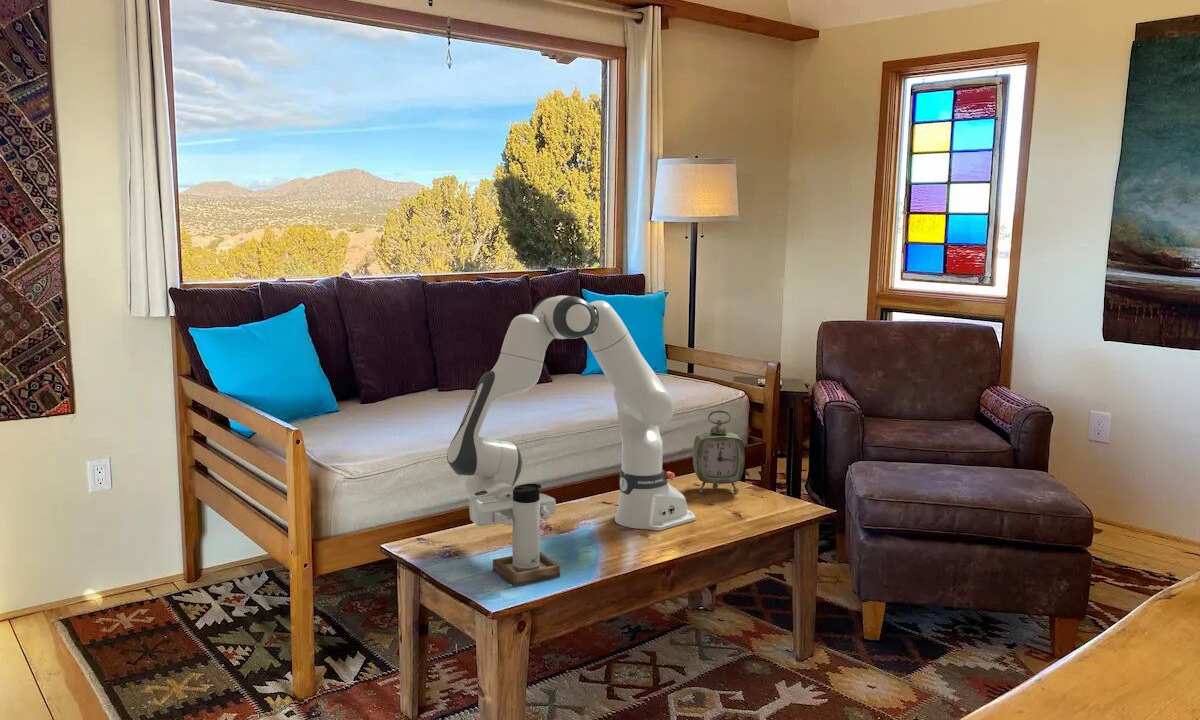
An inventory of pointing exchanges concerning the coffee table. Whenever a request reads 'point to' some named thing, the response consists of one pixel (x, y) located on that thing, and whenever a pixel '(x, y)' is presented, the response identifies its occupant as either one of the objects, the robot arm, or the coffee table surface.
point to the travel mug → (526, 527)
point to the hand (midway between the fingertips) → (528, 518)
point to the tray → (513, 577)
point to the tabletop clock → (718, 455)
